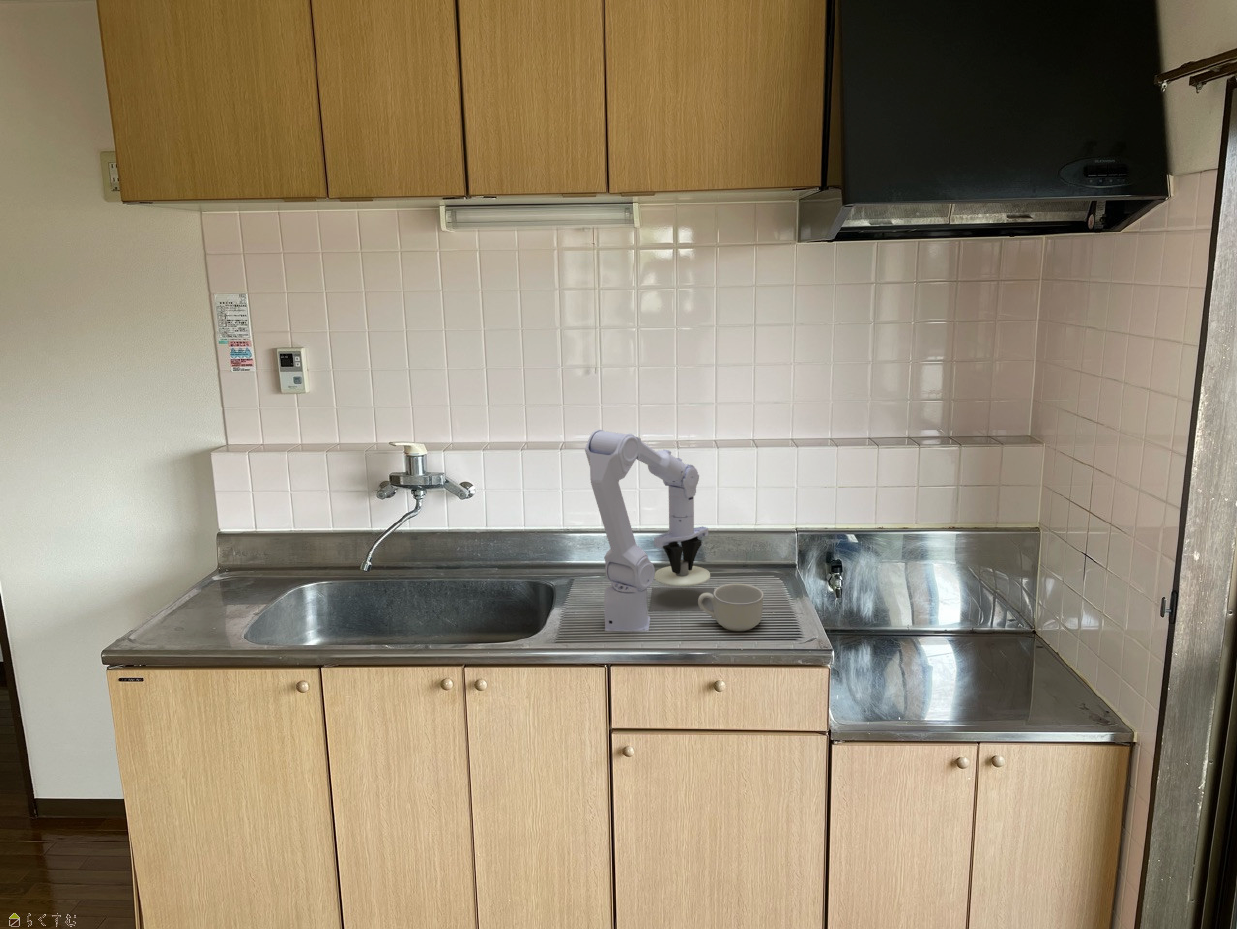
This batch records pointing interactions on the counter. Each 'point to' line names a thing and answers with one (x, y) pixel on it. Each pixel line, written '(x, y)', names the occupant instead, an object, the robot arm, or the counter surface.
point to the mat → (679, 599)
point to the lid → (682, 576)
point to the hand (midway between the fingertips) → (682, 570)
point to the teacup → (735, 606)
